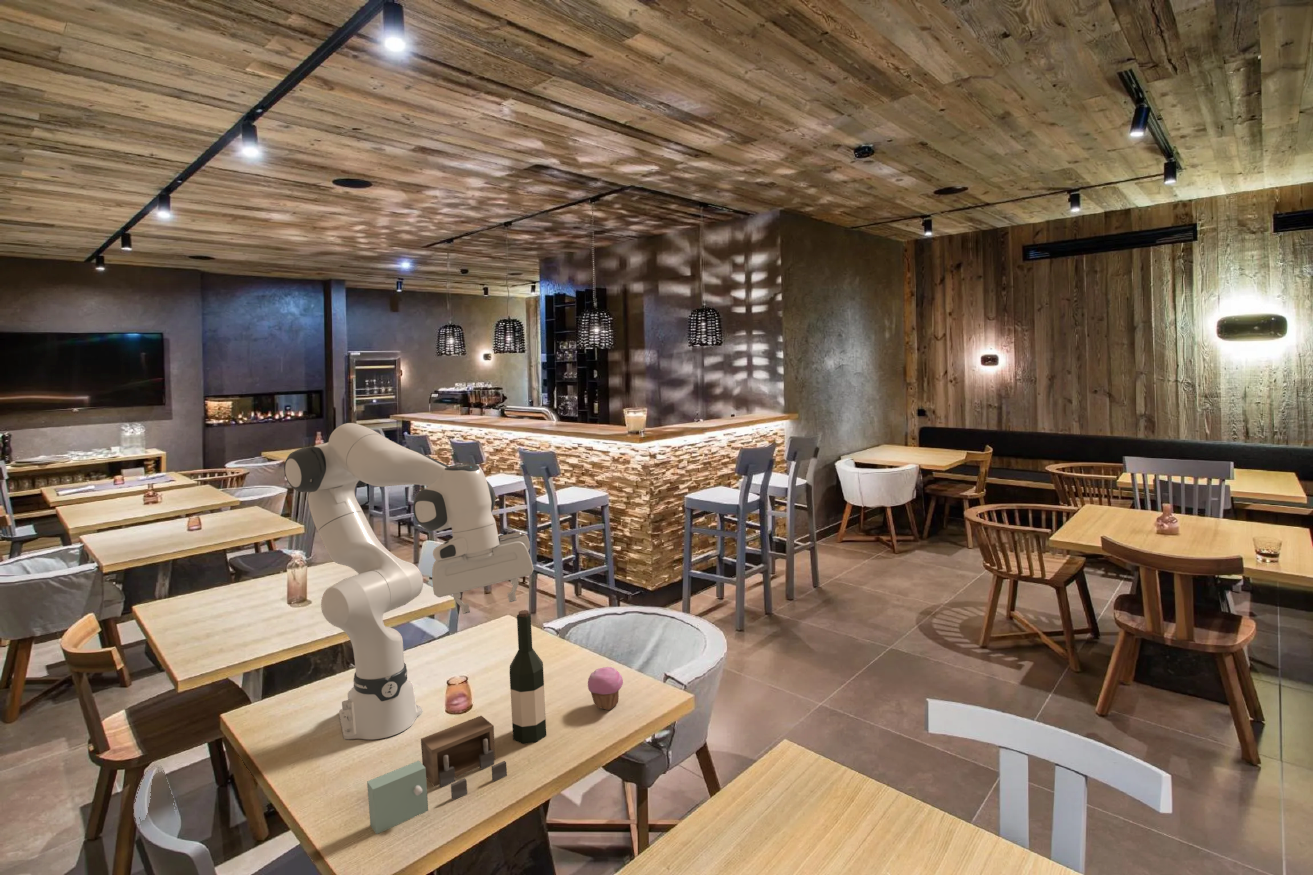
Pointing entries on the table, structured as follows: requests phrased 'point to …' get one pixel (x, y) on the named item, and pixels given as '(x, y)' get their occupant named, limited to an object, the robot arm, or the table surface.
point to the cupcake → (605, 687)
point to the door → (397, 796)
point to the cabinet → (460, 754)
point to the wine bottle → (527, 687)
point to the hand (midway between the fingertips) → (489, 606)
